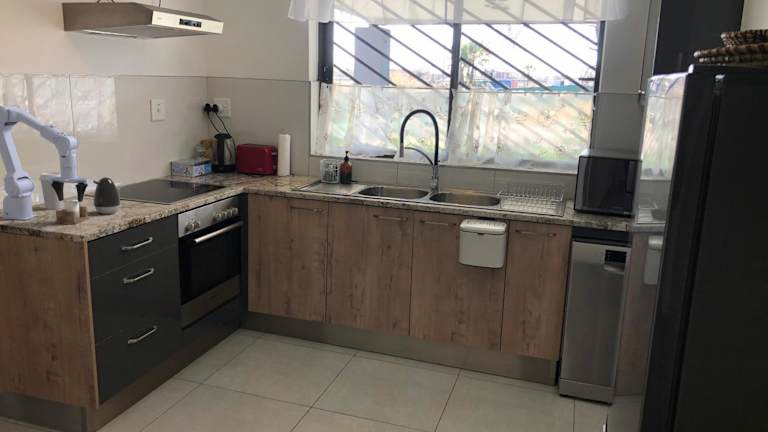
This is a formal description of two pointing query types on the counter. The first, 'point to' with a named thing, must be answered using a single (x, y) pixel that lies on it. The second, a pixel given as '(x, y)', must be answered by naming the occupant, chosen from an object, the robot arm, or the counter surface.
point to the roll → (73, 207)
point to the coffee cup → (50, 191)
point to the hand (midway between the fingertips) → (70, 201)
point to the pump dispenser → (106, 196)
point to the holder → (71, 216)
